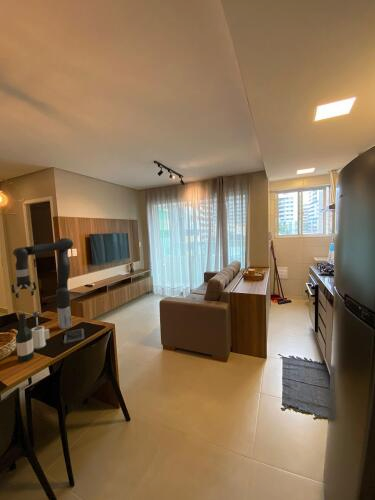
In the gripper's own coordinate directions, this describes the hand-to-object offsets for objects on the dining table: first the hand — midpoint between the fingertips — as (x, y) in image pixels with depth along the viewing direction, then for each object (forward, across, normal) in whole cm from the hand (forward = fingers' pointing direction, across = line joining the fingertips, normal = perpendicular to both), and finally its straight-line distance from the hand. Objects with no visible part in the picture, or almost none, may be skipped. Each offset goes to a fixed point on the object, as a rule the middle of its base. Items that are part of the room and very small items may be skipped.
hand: (25, 296), depth 156 cm
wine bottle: (+34, -2, +28) cm, 44 cm away
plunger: (+21, -7, +15) cm, 27 cm away
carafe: (+33, -9, +15) cm, 37 cm away
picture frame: (+34, -29, +12) cm, 47 cm away
